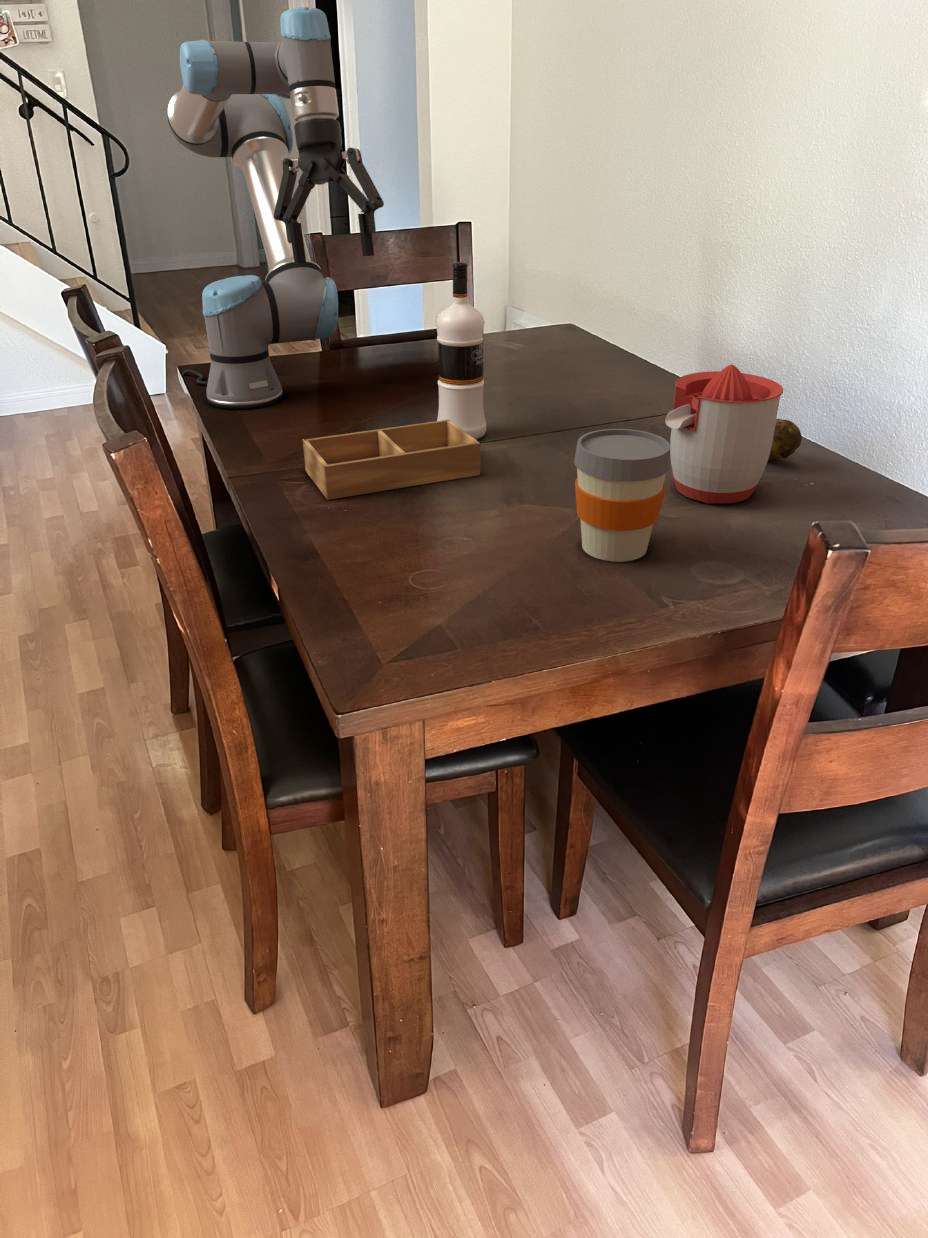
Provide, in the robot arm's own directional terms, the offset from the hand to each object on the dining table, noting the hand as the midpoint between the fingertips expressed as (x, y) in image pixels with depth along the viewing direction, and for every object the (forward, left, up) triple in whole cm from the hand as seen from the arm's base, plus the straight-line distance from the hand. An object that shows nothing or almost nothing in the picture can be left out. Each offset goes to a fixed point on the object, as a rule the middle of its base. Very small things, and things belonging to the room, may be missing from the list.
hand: (333, 259), depth 155 cm
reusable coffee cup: (+65, +19, -30) cm, 74 cm away
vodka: (+13, +18, -30) cm, 37 cm away
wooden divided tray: (+26, 0, -30) cm, 39 cm away
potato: (+46, +60, -30) cm, 81 cm away
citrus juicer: (+54, +43, -30) cm, 75 cm away
